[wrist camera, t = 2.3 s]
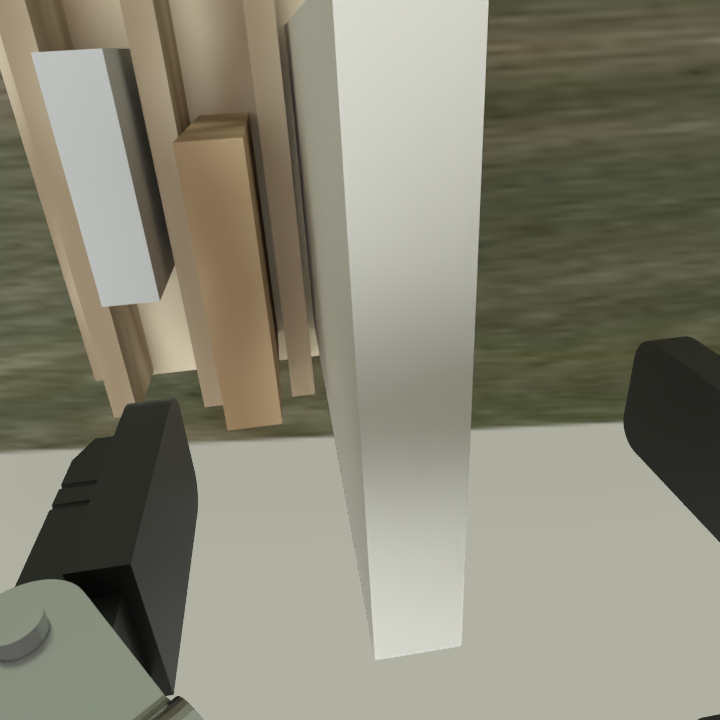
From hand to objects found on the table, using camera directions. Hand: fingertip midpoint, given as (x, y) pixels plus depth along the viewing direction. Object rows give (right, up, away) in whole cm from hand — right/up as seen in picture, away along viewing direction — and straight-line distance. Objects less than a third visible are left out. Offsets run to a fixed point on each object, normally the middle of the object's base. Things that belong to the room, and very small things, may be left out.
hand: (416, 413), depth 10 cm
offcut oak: (-6, +7, +16) cm, 19 cm away
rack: (-7, +8, +16) cm, 20 cm away
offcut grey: (-10, +9, +14) cm, 20 cm away
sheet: (-3, +8, +16) cm, 18 cm away
